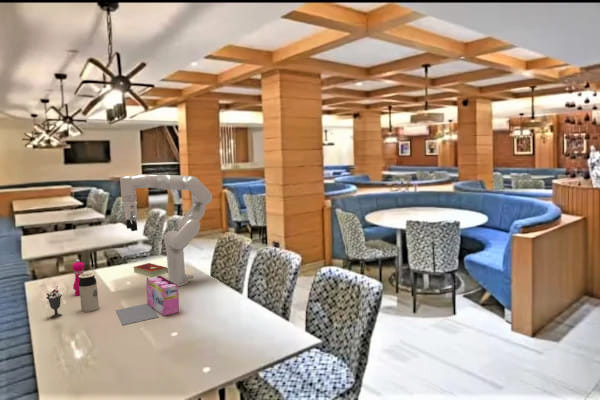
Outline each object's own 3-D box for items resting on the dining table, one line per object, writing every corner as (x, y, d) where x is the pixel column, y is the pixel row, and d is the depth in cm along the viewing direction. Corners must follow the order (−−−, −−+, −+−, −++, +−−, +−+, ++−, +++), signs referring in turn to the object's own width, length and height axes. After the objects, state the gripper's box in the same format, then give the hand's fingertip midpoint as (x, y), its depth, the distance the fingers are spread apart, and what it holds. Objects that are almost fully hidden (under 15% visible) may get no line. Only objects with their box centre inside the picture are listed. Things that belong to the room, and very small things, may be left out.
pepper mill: (77, 292, 249) (73, 258, 247) (90, 291, 250) (86, 257, 247) (71, 296, 242) (68, 261, 240) (85, 295, 243) (81, 260, 240)
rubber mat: (148, 303, 226) (148, 303, 226) (158, 317, 207) (158, 316, 207) (115, 310, 218) (115, 310, 218) (122, 325, 199) (122, 324, 199)
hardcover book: (149, 268, 295) (149, 262, 295) (168, 273, 282) (167, 266, 282) (133, 272, 286) (132, 266, 286) (151, 278, 273) (150, 271, 272)
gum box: (145, 303, 226) (144, 277, 225) (160, 300, 231) (159, 274, 230) (164, 316, 208) (162, 288, 206) (179, 312, 213) (178, 285, 211)
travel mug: (78, 311, 219) (74, 276, 217) (90, 305, 226) (87, 272, 224) (90, 313, 216) (86, 277, 214) (102, 307, 224) (99, 273, 221)
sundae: (67, 314, 216) (64, 284, 214) (56, 319, 210) (52, 289, 208) (57, 313, 218) (54, 283, 216) (45, 318, 212) (42, 288, 210)
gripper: (140, 199, 233) (143, 230, 235) (132, 196, 247) (135, 226, 249) (125, 200, 229) (128, 232, 231) (118, 198, 243) (121, 228, 245)
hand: (132, 229), depth 240 cm, fingers open, 9 cm apart
